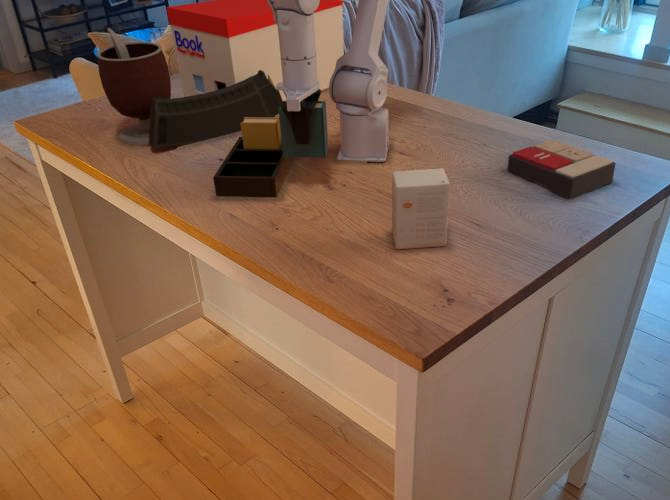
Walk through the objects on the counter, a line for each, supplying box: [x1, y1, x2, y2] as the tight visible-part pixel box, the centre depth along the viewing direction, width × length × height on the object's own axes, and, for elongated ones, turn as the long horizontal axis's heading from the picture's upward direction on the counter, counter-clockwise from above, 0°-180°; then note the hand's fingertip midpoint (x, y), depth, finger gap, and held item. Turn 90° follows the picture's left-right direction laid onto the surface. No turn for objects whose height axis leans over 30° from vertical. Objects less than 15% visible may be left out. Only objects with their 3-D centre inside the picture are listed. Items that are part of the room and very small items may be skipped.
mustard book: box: [240, 116, 282, 149], centre depth 126 cm, size 7×3×8 cm, turn 82°
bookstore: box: [166, 0, 345, 101], centre depth 155 cm, size 21×35×21 cm, turn 137°
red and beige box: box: [507, 139, 617, 200], centre depth 117 cm, size 11×4×15 cm
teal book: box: [278, 100, 329, 159], centre depth 113 cm, size 8×3×8 cm, turn 82°
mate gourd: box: [96, 27, 172, 146], centre depth 137 cm, size 16×14×20 cm
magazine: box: [149, 70, 283, 150], centre depth 137 cm, size 17×3×30 cm
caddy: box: [212, 136, 296, 198], centre depth 123 cm, size 11×19×4 cm, turn 172°
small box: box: [391, 167, 451, 250], centre depth 100 cm, size 8×6×10 cm
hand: (304, 138), depth 114 cm, fingers closed on teal book, 3 cm apart
